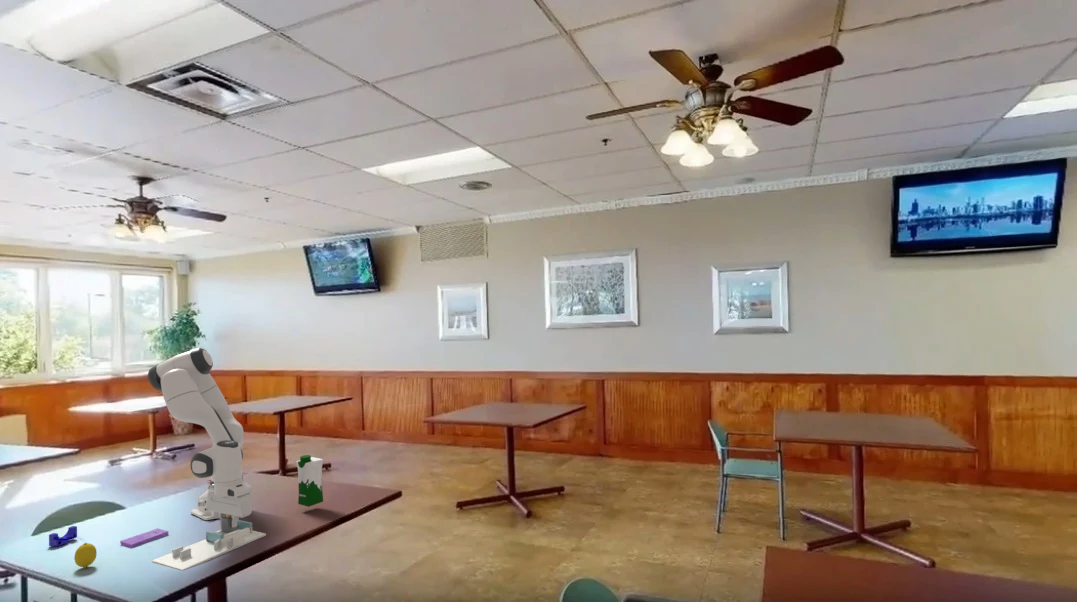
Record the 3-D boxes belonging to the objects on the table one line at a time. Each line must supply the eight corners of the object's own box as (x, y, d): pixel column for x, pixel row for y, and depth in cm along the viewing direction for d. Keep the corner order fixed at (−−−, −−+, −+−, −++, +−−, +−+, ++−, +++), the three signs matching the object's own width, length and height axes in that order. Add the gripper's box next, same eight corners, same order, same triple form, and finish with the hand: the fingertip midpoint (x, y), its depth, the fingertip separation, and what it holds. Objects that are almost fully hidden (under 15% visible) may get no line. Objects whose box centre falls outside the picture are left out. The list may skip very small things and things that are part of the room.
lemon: (82, 564, 183) (82, 539, 183) (100, 563, 183) (100, 538, 183) (70, 572, 177) (69, 547, 177) (88, 571, 178) (88, 546, 178)
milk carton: (294, 504, 235) (293, 456, 235) (313, 497, 242) (312, 451, 242) (308, 508, 230) (306, 459, 230) (326, 501, 238) (325, 453, 238)
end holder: (206, 541, 198) (206, 531, 198) (237, 528, 208) (237, 519, 208) (221, 545, 194) (220, 535, 194) (252, 532, 205) (252, 522, 205)
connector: (221, 531, 200) (221, 514, 200) (230, 528, 203) (230, 511, 204) (227, 533, 199) (227, 515, 199) (236, 529, 202) (236, 512, 202)
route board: (151, 562, 183) (151, 553, 183) (236, 528, 210) (236, 520, 210) (182, 571, 176) (182, 561, 176) (266, 535, 203) (265, 526, 203)
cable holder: (56, 546, 198) (56, 535, 198) (49, 546, 199) (48, 534, 199) (80, 537, 206) (80, 526, 206) (73, 536, 207) (72, 525, 207)
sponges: (168, 536, 206) (168, 531, 206) (130, 549, 195) (130, 544, 195) (158, 532, 209) (158, 527, 209) (119, 545, 198) (119, 540, 198)
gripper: (201, 486, 203) (202, 524, 203) (239, 493, 194) (239, 533, 194) (218, 480, 209) (218, 518, 209) (255, 487, 200) (256, 526, 200)
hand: (229, 525), depth 201 cm, fingers closed on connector, 3 cm apart
